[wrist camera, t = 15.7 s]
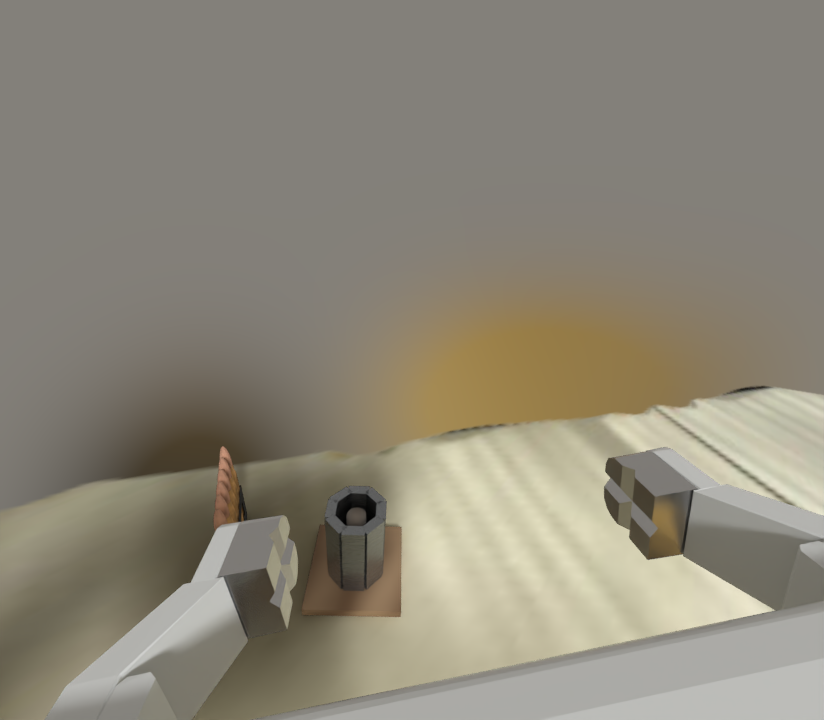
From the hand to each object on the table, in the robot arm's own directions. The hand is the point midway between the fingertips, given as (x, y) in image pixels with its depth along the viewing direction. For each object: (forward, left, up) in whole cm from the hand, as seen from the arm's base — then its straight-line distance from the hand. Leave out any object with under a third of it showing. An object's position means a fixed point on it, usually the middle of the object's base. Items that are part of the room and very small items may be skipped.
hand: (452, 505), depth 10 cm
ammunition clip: (-19, +23, -35) cm, 46 cm away
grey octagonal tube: (-5, +21, -34) cm, 40 cm away
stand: (-5, +21, -35) cm, 41 cm away
